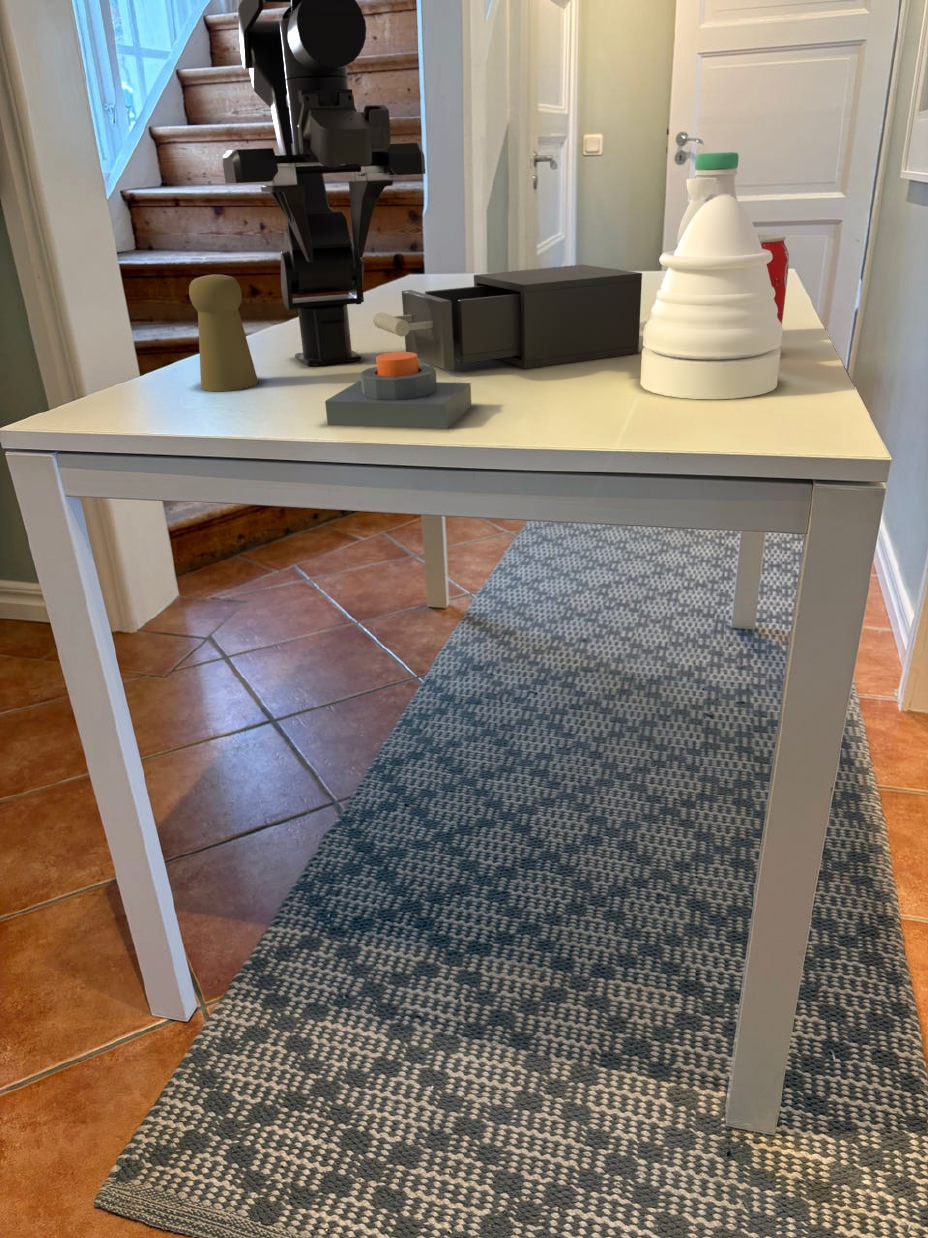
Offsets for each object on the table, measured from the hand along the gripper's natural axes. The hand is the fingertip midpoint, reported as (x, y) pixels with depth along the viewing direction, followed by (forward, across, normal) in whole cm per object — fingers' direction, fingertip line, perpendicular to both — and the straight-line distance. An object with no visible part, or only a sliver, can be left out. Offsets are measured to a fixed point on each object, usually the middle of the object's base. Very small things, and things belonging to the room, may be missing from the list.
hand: (334, 259), depth 90 cm
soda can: (+12, +42, -14) cm, 45 cm away
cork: (+12, -12, +5) cm, 17 cm away
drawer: (+11, +14, 0) cm, 18 cm away
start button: (+8, 0, -18) cm, 20 cm away
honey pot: (+12, +30, -23) cm, 39 cm away
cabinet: (+12, +26, 0) cm, 28 cm away
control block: (+12, 0, -18) cm, 22 cm away
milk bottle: (+12, +44, -4) cm, 45 cm away
